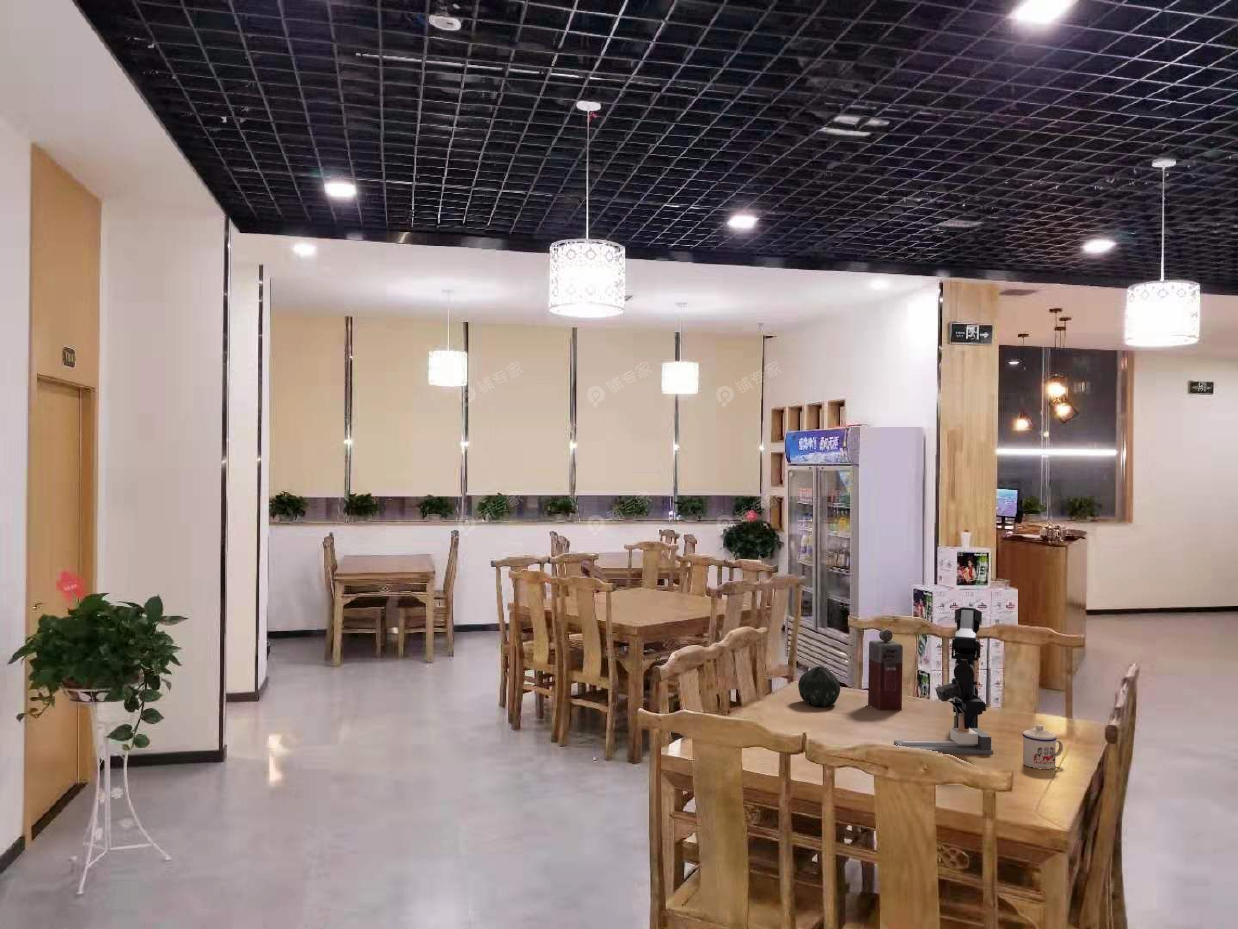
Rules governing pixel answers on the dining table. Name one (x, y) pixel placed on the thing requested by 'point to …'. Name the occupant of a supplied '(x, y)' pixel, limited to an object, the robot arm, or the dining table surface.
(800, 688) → the squash
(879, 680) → the square decanter bottle
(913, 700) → the dining table surface
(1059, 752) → the teacup with lid
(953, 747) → the track
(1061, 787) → the dining table surface
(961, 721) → the keeper
